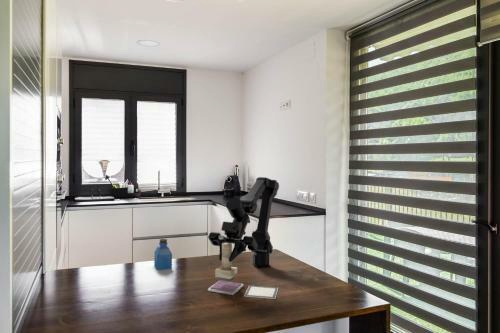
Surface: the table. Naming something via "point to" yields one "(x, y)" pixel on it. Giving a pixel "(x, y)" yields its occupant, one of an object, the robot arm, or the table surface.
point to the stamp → (226, 265)
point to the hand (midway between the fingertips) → (224, 260)
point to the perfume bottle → (163, 256)
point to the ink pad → (226, 287)
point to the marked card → (261, 292)
